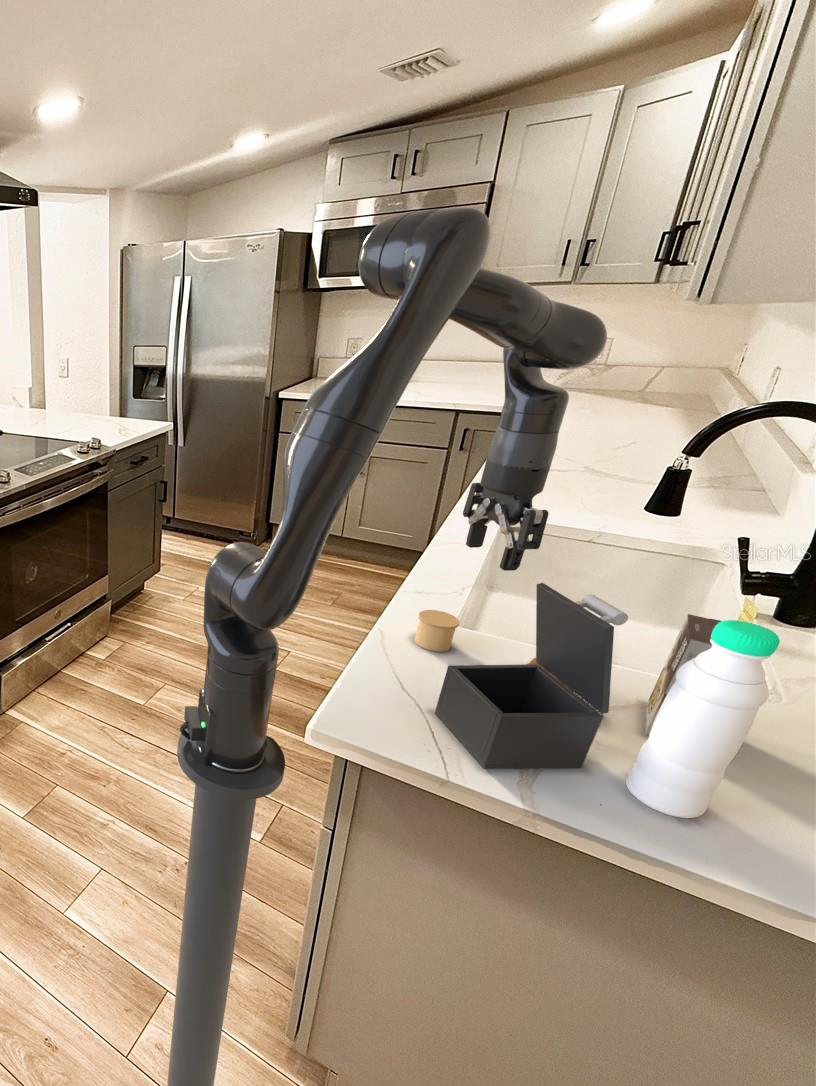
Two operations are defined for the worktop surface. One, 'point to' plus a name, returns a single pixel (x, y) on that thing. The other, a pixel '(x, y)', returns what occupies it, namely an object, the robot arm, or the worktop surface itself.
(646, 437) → the worktop surface
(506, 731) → the hinged dark box
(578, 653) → the lid
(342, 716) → the worktop surface
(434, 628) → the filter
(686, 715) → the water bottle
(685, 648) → the coffee box
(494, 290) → the robot arm
